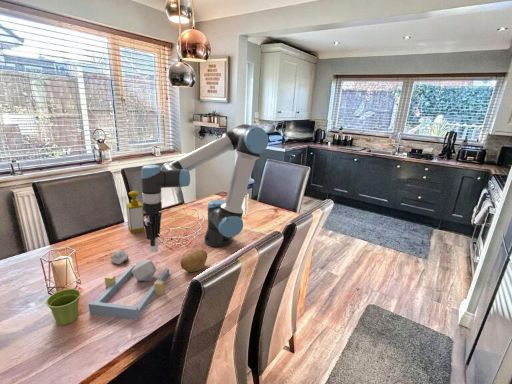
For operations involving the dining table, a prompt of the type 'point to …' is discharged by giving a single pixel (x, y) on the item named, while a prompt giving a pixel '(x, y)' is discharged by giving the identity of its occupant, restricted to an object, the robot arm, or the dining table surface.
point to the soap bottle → (135, 214)
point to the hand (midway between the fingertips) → (154, 251)
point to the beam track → (124, 310)
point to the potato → (194, 261)
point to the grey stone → (119, 256)
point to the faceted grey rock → (144, 270)
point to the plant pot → (64, 305)
